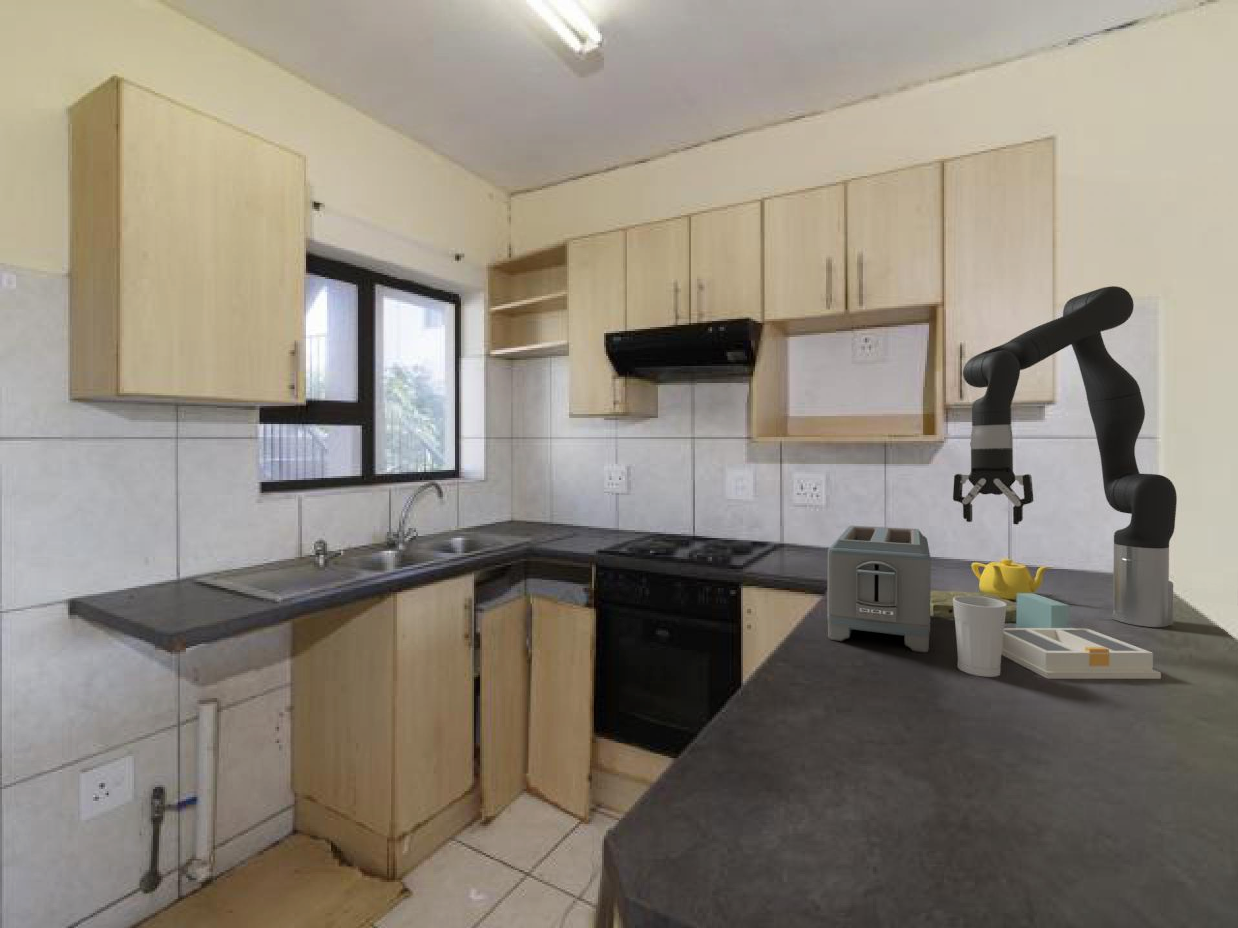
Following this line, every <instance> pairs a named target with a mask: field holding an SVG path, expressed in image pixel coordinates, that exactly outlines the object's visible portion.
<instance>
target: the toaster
mask: <svg viewBox="0 0 1238 928" xmlns="http://www.w3.org/2000/svg"><path fill="white" fill-rule="evenodd" d="M928 543H929V542H928V538H927V537H926V536H925V535H923V533H922V532H921V531H920V529H919V528H905V527H884V526H867V525H866V526H865V525H863V526H862V525H849V526H847V528H846V530H844V531H843V532H842V533H841V534H840V536H838V537H837V539H836V540H835V541H834V542H833V544H831V546H830V547H829V548H828V549H827V599H826V600H827V610H826V611H827V617H826V619H827V637H828V639H829V640H831V641H837V642H843V641H845V640H846V639H849V638H850V637H851V634H852V630H854V631H855V630H856V631H864V632H871V633H878V634H879V633H881V634H887V635H896V636H903V639H904V646H905V647H908V648H909V649H911V650H912V651H913V652H919V653H927V652H929V650H930V649H929V648H930V633H931V615H930V591H932V590H931V579H932V578H931V575H932V574H931V571H932V569H931V567H932V561H931V560H932V559H931V553H930V548H929V544H928Z"/></svg>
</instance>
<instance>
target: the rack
mask: <svg viewBox="0 0 1238 928" xmlns="http://www.w3.org/2000/svg"><path fill="white" fill-rule="evenodd" d="M1001 656H1003V657H1005V658H1007V659H1009V660H1011V661H1013V662H1015V663H1016V664H1018V665H1021V666H1022V667H1024V668H1026V669H1028V670H1030V671H1031V672H1033V673H1036V674H1037V675H1040V676H1041V677H1043V678H1045V679H1050V680H1051V679H1058V680H1059V679H1060V680H1061V679H1064V680H1065V679H1070V680H1072V679H1073V680H1074V679H1078V680H1079V679H1080V680H1081V679H1087V680H1088V679H1099V680H1100V679H1103V680H1104V679H1115V680H1117V679H1119V680H1122V679H1125V680H1126V679H1130V680H1131V679H1132V680H1133V679H1134V680H1135V679H1136V680H1138V679H1140V680H1141V679H1142V680H1143V679H1144V680H1146V679H1153V680H1155V679H1157V680H1158V679H1159V680H1161V678H1162V673H1161V672H1160V671H1158V670H1155V669H1153V668H1154V653H1153V652H1151V651H1149V650H1147V649H1144V648H1141V647H1138V646H1135V645H1132V644H1130V643H1129V642H1125V641H1122V640H1121V639H1120V640H1119V639H1116V638H1114V637H1112V636H1108V635H1106V634H1103V633H1100V632H1098V631H1096V630H1093V629H1089V628H1087V627H1085V628H1084V627H1069V628H1016V627H1004V634H1003V644H1002V654H1001Z"/></svg>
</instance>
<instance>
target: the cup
mask: <svg viewBox="0 0 1238 928" xmlns="http://www.w3.org/2000/svg"><path fill="white" fill-rule="evenodd" d="M953 607H954V617H955V618H954V623H955V638H956V649H957V668H958V670H960V671H962V672H964V673H967V674H970V675H973V676H979V677H987V678H988V677H989V678H993V677H998V676H1000V675H1001V665H1002V664H1001V662H1002V655H1001V654H1002V644H1003V634H1004V628H1005V623H1006V621H1005V616H1006V607H1007V604H1006V603H1004V602H1002V601H999V600H996V599H991V598H986V597H978V596H957V597H954V598H953Z"/></svg>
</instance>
